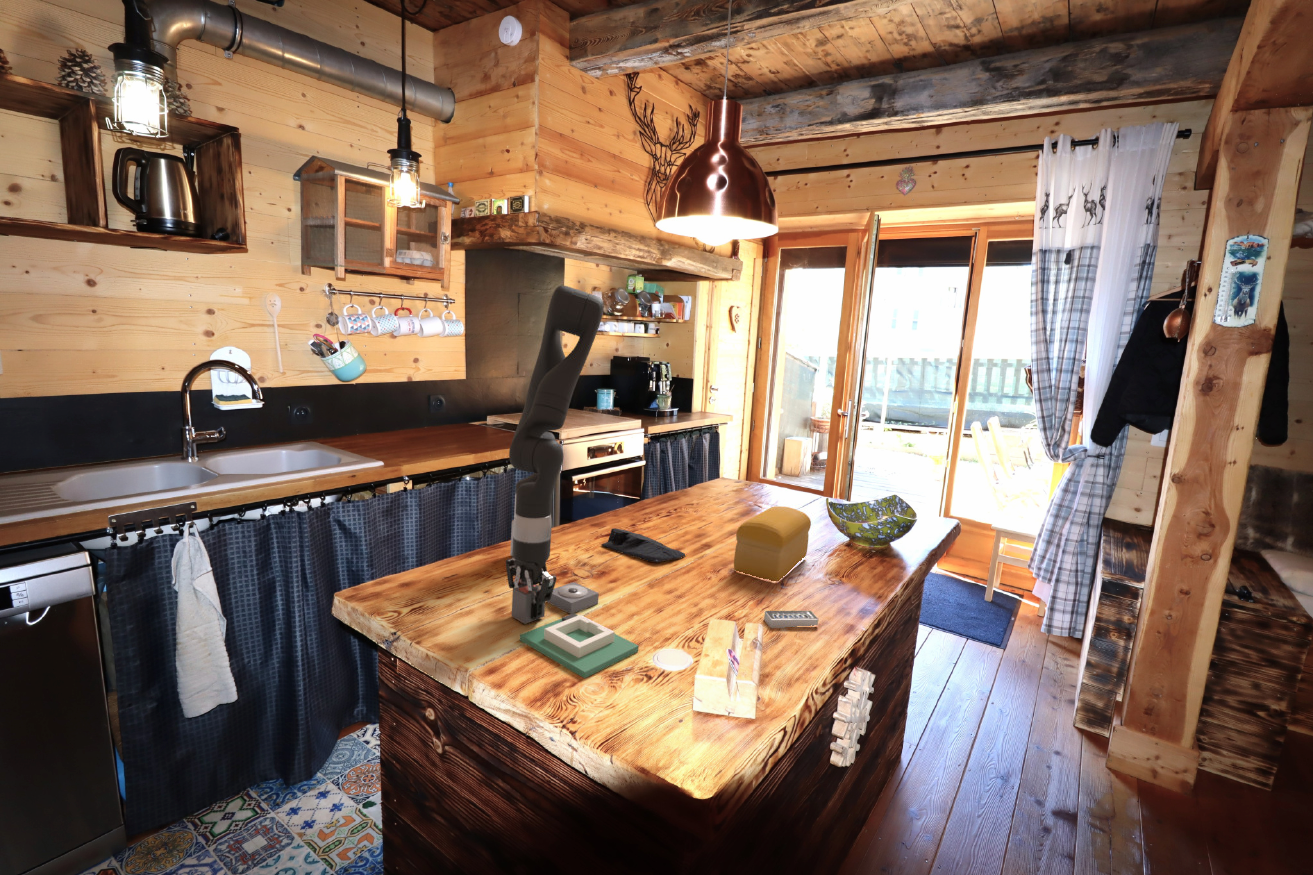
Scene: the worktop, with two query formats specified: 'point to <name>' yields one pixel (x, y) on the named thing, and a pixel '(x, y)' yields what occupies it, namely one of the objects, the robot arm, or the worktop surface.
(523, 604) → the keyed plug
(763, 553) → the bread
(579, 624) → the circuit board
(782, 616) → the multiport hub
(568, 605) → the grey square domed block
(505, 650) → the worktop surface
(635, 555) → the dark slate chunk
